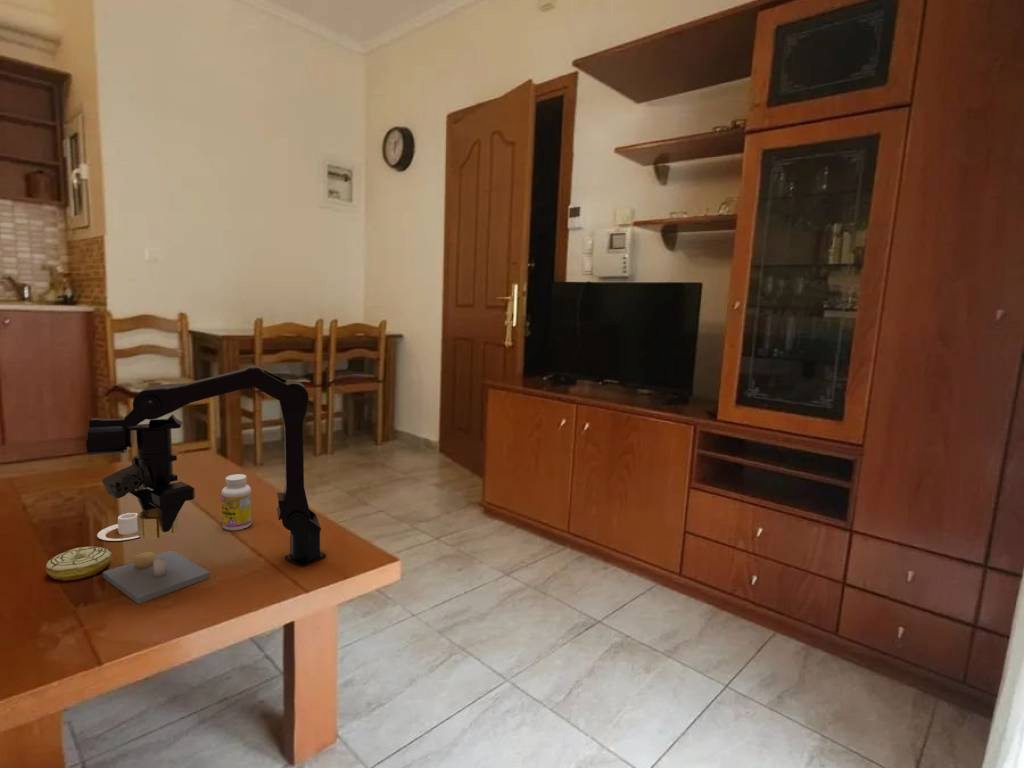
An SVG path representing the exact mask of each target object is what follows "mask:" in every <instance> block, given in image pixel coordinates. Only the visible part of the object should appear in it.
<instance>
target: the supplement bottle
mask: <svg viewBox="0 0 1024 768" xmlns="http://www.w3.org/2000/svg"><path fill="white" fill-rule="evenodd" d="M247 480H248V479H247V475H246V474H244V473H243V474H242V473H241V474H239V473H236V474H230V475H228V476H226V477H225V484H226V485H225V486H224V487H223V488H222V489H221V519H222V520H221V524H222V528H223V529H224V530H226V531H242V530H244V528H245V529H247V528H248V527H250V526H251V525H252V522H253V521H252V519H253V518H252V514H253V512H252V488H251V486H250V485H249V484H247Z"/></svg>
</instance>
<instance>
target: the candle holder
mask: <svg viewBox="0 0 1024 768" xmlns="http://www.w3.org/2000/svg"><path fill="white" fill-rule="evenodd" d="M138 514H139V513H137V512H126V513H123V514H120V515H118V517H117V524H112V525H110V526H106V528H103V529H101V530H100V531H99V532H98V533H97V534H96V537H97V538H98V539H100V540H102V541H109V542H110V541H111V542H121V541H128V540H133V539H137V538H140V537H139V536H138V535H135V536H132V537H125V538H124V537H123V538H111V537H107V534H108V533H110V532H111V531H113V530H115V529H117V532H118V534H119V535H123V536H127V535H132V534H136V533H138V528H137V515H138Z"/></svg>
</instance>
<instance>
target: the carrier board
mask: <svg viewBox="0 0 1024 768" xmlns="http://www.w3.org/2000/svg"><path fill="white" fill-rule="evenodd" d="M133 560H134V562H130V563H127V564H124V565H120V566H117V567H114V568H111V569H108V570H105V571H103V572H102V578H103V579H105V581H107V582H108V583H110V584H111V585H113V586H114V587H115V588H116V589H118V591H120V592H121V593H123V595H126V596H127V597H128V598H129V599H131V600H132V601H133V602H135V603H136V604H138V605H140V604H142V603H145V602H147V601H150V600H154V599H156V598H159V597H161V596H164V595H167V594H169V593H172V592H175V591H177V590H180V589H183V588H185V587H188V586H191V585H194V584H196V583H199V582H202V581H205V580H208V579H210V577H211V576H210V575H211V574H210V572H209V571H208V570H206V568H202V567H201V566H200V565H198V564H196V563H194V562H193V561H191V560H190V559H187V558H186V557H184V556H182V555H180V554H179V553H177V552H176V551H174V550H168V551H165V552H162V553H158V554H156V553H155V552H154V551H147V552H146V551H145V552H142V553H138V554H136V555H134V559H133Z"/></svg>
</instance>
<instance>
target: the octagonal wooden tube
mask: <svg viewBox="0 0 1024 768" xmlns="http://www.w3.org/2000/svg"><path fill="white" fill-rule="evenodd" d="M137 514H138V515H137V528H138V532H137V536H139V537H138V538H141V539H144V540H150V539H151V540H153V539H154V540H155V539H161V538H165V537H168V536H172V535H174V534H175V533H177V532H178V530H179V522H178V521H179V517H178V515H177V517H176V519H175V521H174V523H173V525H172V527H171V529H170V531H168V532H163V531H162V527H161V522H160V518H159V513H158V509H157V508H152V509H148V510H144V511H143V510H142V511H141V512H140V513H137Z"/></svg>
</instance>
